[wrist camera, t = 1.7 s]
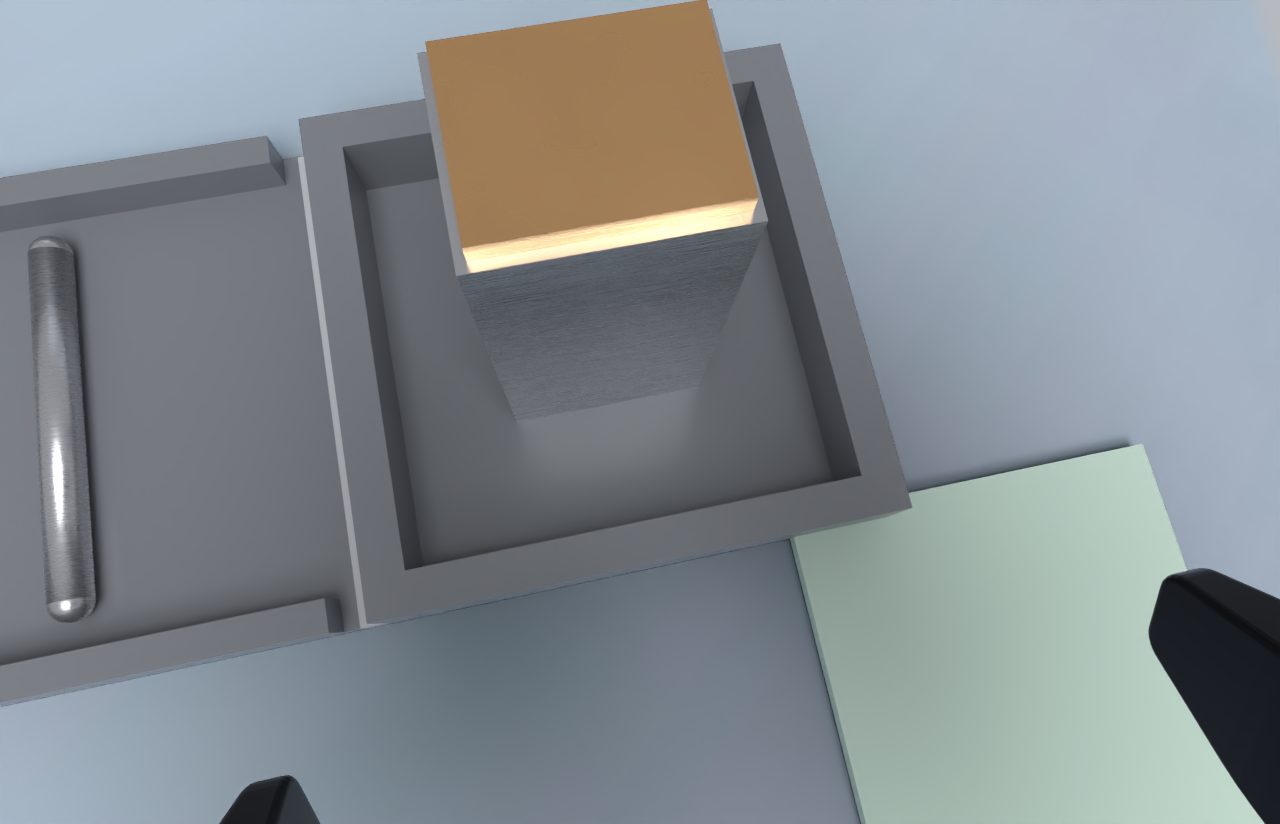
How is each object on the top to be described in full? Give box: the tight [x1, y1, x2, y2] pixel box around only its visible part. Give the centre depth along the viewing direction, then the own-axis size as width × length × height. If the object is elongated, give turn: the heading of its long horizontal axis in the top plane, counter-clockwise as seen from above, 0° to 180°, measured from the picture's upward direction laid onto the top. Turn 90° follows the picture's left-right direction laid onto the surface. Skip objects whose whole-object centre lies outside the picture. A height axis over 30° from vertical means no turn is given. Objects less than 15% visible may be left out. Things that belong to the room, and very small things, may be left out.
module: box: [417, 0, 768, 422], centre depth 18 cm, size 4×5×10 cm
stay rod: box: [27, 236, 96, 623], centre depth 21 cm, size 10×1×1 cm, turn 12°
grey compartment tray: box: [0, 44, 913, 707], centre depth 22 cm, size 13×27×2 cm, turn 102°
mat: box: [790, 444, 1264, 824], centre depth 22 cm, size 10×10×1 cm
